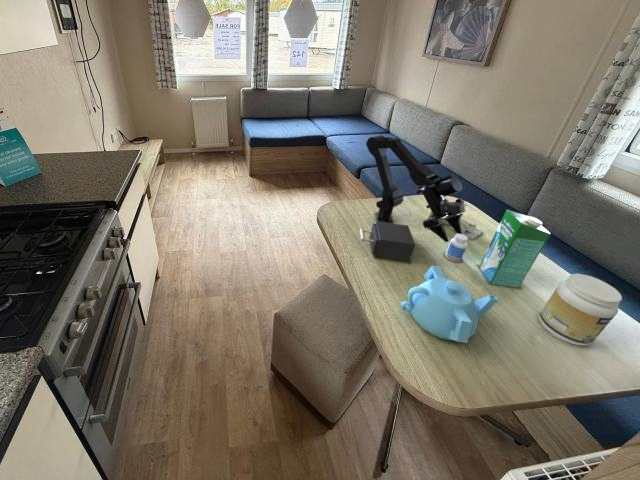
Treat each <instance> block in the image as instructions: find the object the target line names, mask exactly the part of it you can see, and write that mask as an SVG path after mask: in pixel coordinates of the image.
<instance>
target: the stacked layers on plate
mask: <svg viewBox="0 0 640 480" xmlns="http://www.w3.org/2000/svg"><path fill="white" fill-rule="evenodd" d="M478 223H479V220H478V219H477V218H474V217H471V216H469V215H466V214H463V215H462V217H461V218H460V224H461V232H462V234H463V235H465V236H466V237H467V238H468V239H470V240H474V239H476V238H477V237H478V236H480V235H482V234H483V232H482V231H479V230H477V229H476V228H477V226H478ZM448 229H450V230H452V231H454V232H456V231H455V230H454V229H453V228H452V226H451V225H450V226H448Z"/></svg>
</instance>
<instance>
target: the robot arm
mask: <svg viewBox="0 0 640 480" xmlns="http://www.w3.org/2000/svg"><path fill="white" fill-rule="evenodd" d="M365 143H366V147H367V150H368V152H369V154H370V155H371V156H372V157H373V158H374V161H375V165H376V168H377V171H378V175H379V178H380V182H381V186H382V192H381V200H379V201H376V202H375V203H376V205H375V206H376V208H377V209H378V212H375V217H376V221H379V222H386V223H393V219H392V214H393V212H394V211H393V210H394V208H396V207H398V206H400V205H401V204H402V203H403V202H404V198H405V196H404V194H403V189H402V187H400V188H398V187H397V186H396V185H395V181H394V177H393V174H392V170H391V167H390V163H389V159H388V156H387V152H388V149H390V151H392V153H393V154H394V156H396V157H397V158H398V160H399V161H400V162H401V163H402V165H403V166H404V167H405V168H406V169H407V170H408V173H409V178H410V179H411V180H412V182H413V183H414V185H415V186H418V188H417V190H416V195H417V194H420V193H421V194H422V195H423V197H424V199H425V201H426V204H427V205H426V209H429V210H430V212H431V211H432V213H433V215H432V216H431V217H432V218H429V219H428V218H427V219H424V220H423V221H422V226H423V228H424V229H427V230H429V231H430V232H432V233H433V234H435V235H436V236H438V237H439V238H440V239H441V240H442V241H443V242H445V243H449V237H448V234H447V232H446V230H445V223H443V221H444V220H443V219H445V218H447V217H448V218H447V219H446V220H447V222H448V223H449V224H448V225H450V227H451V226H452V228H453V229H454V230H455V231H454V230H453V231H454V232H455V233H456V234H462V232H461V224H460V219H461V217H462V216H463V215H464V213H465V212H466V208H465V207H467V203H466V201H465V200H464V199H463V198H457V199H455V201H449V200H448V199H447V198H444V197H447V196H451V195H454V194H457V193H460V192H462V191H463V185H462V182H461V180H459V179H458V178H457V177H455V176H454V175H453V174H449V175H446V176H445V177H442V176H440V175H438V174H436V173H435V172H434V170H433V169H431V168H430V167H428V165H425V164H423V163H421V162H420V161H419V160H418V159H417V158H416V157H415V155H413V154H412V152H411V151H410V150H409V149H408V148H407V147H406V146H405V145H404V144H403V142H402V140H401V139H400V138H398V137H389V136H388V137H387V136H386V137H385V136H384V135H382V134H381V135H375V136H370V137H369V138H367V141H366V142H365Z"/></svg>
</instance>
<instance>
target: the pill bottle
mask: <svg viewBox="0 0 640 480" xmlns="http://www.w3.org/2000/svg"><path fill="white" fill-rule="evenodd" d="M468 239H469V238H468V237H466V236H465V235H463V234H458V233H456V234H455V235H454V237H453V238H451V239H450V242H449V244H448V247H447V249H446V251H445V257H446V259H448V260H450V261H452V262H461V261H462V259H463V257H464V255H465V252H466V250H467V247H468V243H467V242H468Z"/></svg>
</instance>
